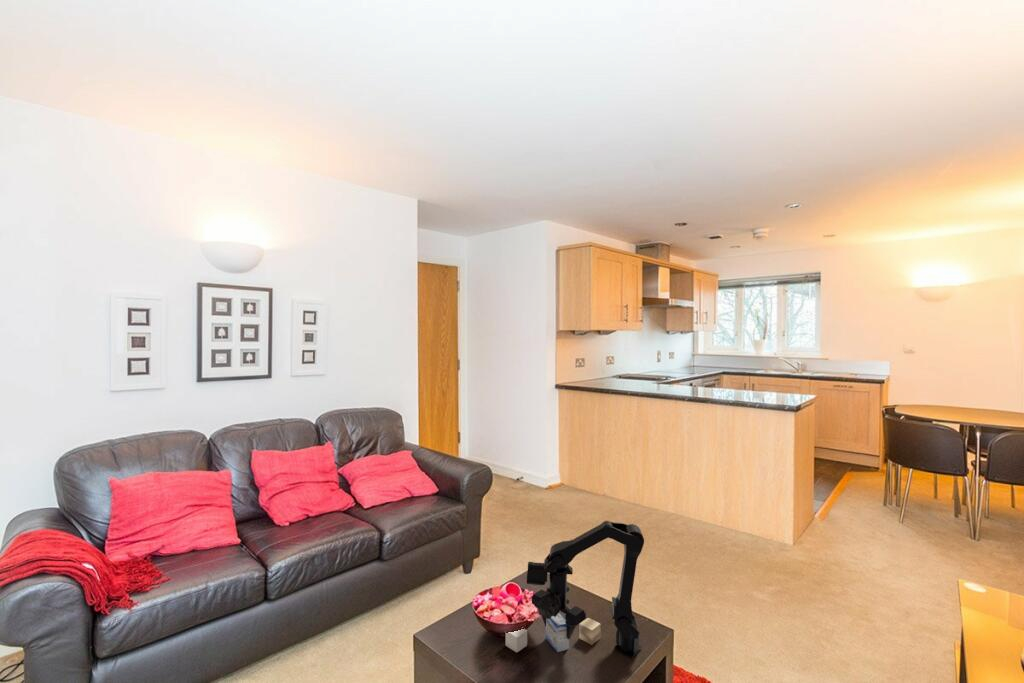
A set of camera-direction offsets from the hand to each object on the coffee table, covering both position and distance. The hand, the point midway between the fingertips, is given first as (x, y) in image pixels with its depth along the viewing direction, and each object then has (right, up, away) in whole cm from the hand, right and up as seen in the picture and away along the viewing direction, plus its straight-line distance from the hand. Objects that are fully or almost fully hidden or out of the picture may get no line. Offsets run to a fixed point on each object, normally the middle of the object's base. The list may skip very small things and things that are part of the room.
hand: (557, 632), depth 156 cm
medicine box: (0, -4, 0) cm, 4 cm away
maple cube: (+11, -4, +3) cm, 12 cm away
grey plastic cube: (-14, -4, -1) cm, 14 cm away
